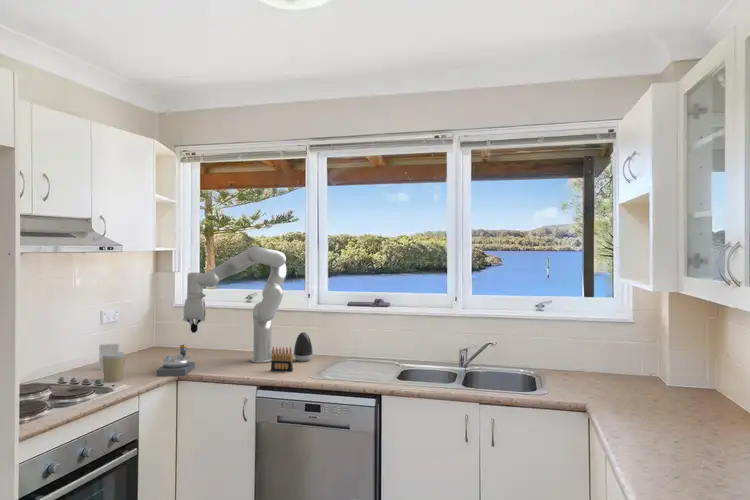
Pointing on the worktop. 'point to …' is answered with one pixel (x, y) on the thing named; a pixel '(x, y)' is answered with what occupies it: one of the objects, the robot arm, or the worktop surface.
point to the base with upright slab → (106, 351)
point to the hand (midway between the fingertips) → (194, 332)
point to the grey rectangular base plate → (175, 370)
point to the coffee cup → (113, 366)
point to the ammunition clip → (281, 360)
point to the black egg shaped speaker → (303, 347)
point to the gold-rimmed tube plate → (177, 359)
